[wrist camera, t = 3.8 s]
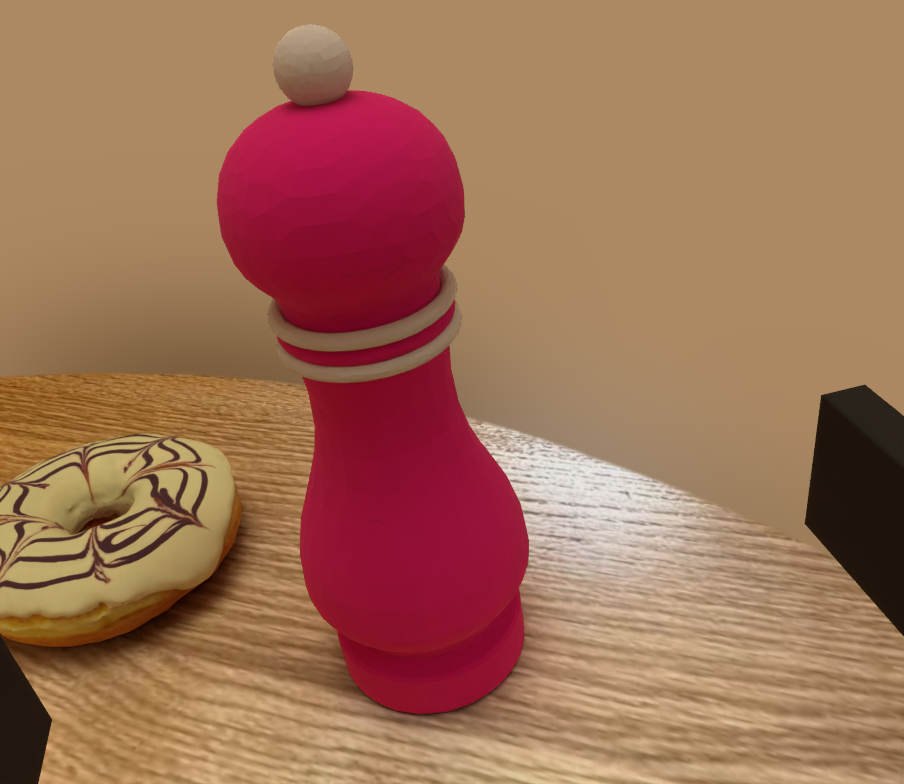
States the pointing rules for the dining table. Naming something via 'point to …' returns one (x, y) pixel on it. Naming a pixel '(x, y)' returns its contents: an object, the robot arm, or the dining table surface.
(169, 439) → the decorated donut
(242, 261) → the pepper mill
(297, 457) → the dining table surface
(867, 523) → the robot arm
